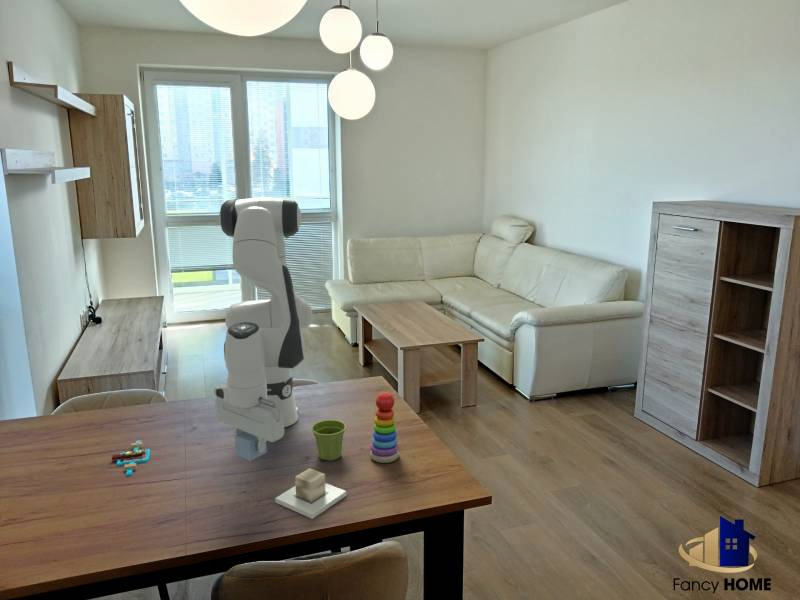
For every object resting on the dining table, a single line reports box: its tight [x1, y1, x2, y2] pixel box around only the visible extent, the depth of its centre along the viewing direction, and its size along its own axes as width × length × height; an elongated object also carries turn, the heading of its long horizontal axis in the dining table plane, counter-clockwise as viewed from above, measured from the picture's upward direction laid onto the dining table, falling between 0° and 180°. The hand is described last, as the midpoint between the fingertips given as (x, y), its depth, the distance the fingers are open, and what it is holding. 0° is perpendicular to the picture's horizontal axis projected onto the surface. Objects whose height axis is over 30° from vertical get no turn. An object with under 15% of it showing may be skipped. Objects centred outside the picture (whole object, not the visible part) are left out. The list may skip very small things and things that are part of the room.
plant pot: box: [311, 419, 347, 461], centre depth 167 cm, size 9×9×9 cm
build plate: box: [274, 482, 347, 520], centre depth 146 cm, size 12×12×1 cm
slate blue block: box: [234, 431, 268, 462], centre depth 143 cm, size 5×5×5 cm
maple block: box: [294, 467, 326, 502], centre depth 146 cm, size 5×5×5 cm
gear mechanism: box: [111, 440, 151, 477], centre depth 167 cm, size 20×5×9 cm
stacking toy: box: [369, 391, 400, 464], centre depth 165 cm, size 8×8×19 cm
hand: (251, 447), depth 144 cm, fingers closed on slate blue block, 5 cm apart
